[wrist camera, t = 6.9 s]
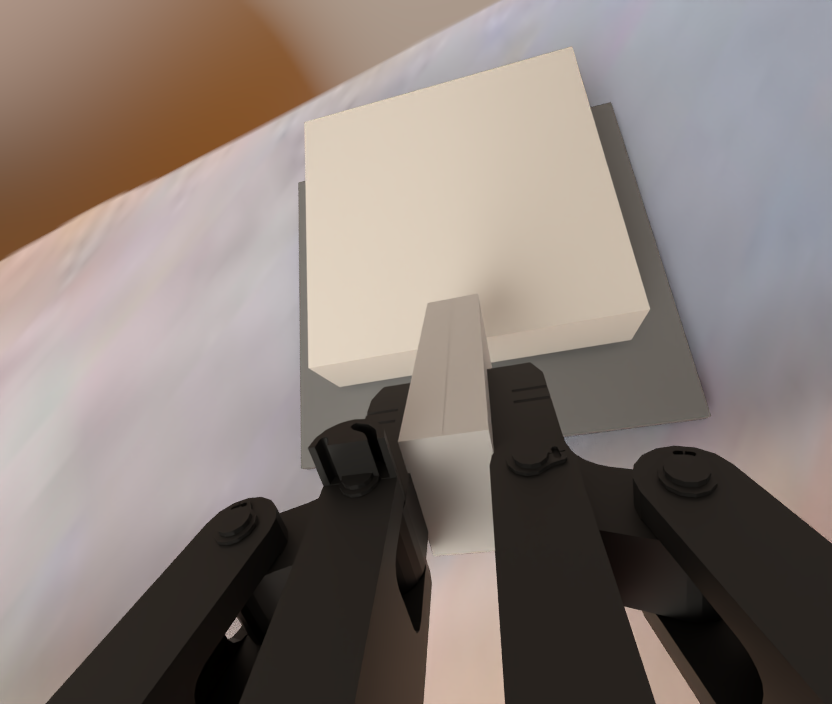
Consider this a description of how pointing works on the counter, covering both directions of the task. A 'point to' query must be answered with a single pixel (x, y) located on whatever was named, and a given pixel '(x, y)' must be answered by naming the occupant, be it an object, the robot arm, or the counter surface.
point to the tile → (465, 222)
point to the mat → (566, 370)
